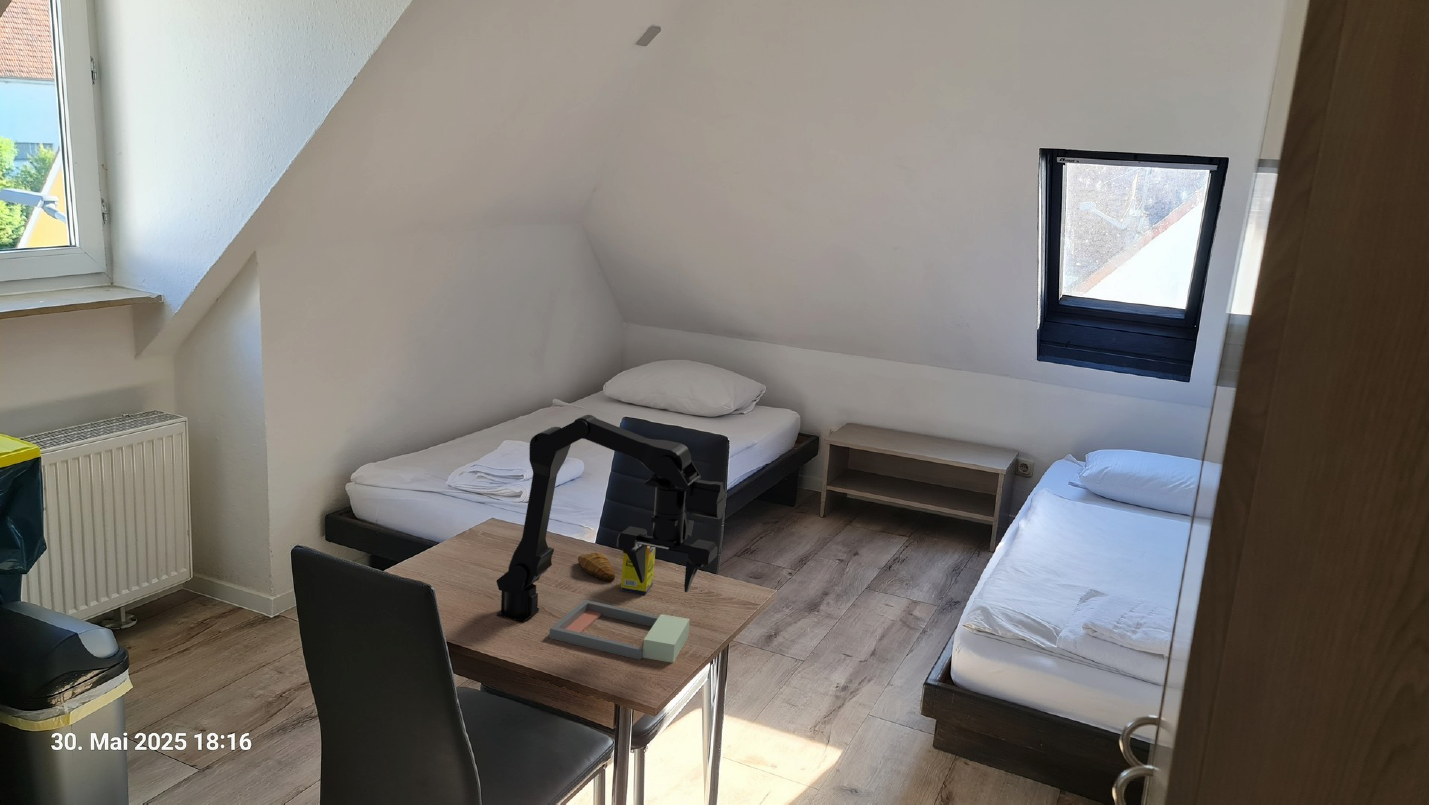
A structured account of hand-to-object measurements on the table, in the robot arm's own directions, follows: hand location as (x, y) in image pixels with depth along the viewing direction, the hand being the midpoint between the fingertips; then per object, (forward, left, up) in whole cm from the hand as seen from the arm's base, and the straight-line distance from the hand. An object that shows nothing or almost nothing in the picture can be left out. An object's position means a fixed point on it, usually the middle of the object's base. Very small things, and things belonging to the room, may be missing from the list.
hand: (664, 587), depth 190 cm
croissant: (-27, +26, -12) cm, 40 cm away
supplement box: (-15, +23, -12) cm, 30 cm away
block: (+1, 0, -12) cm, 12 cm away
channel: (-10, 0, -12) cm, 16 cm away
